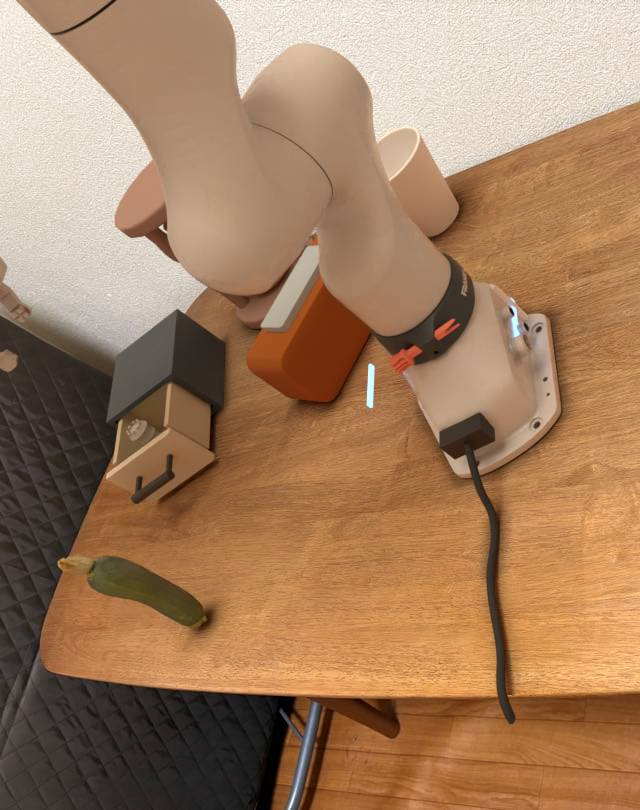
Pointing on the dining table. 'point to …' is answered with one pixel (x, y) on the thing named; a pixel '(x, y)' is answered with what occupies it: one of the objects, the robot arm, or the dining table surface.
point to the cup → (417, 180)
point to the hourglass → (143, 218)
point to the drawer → (163, 443)
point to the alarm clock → (307, 337)
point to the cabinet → (168, 365)
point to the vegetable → (137, 587)
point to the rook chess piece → (142, 432)
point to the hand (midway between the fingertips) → (21, 340)
